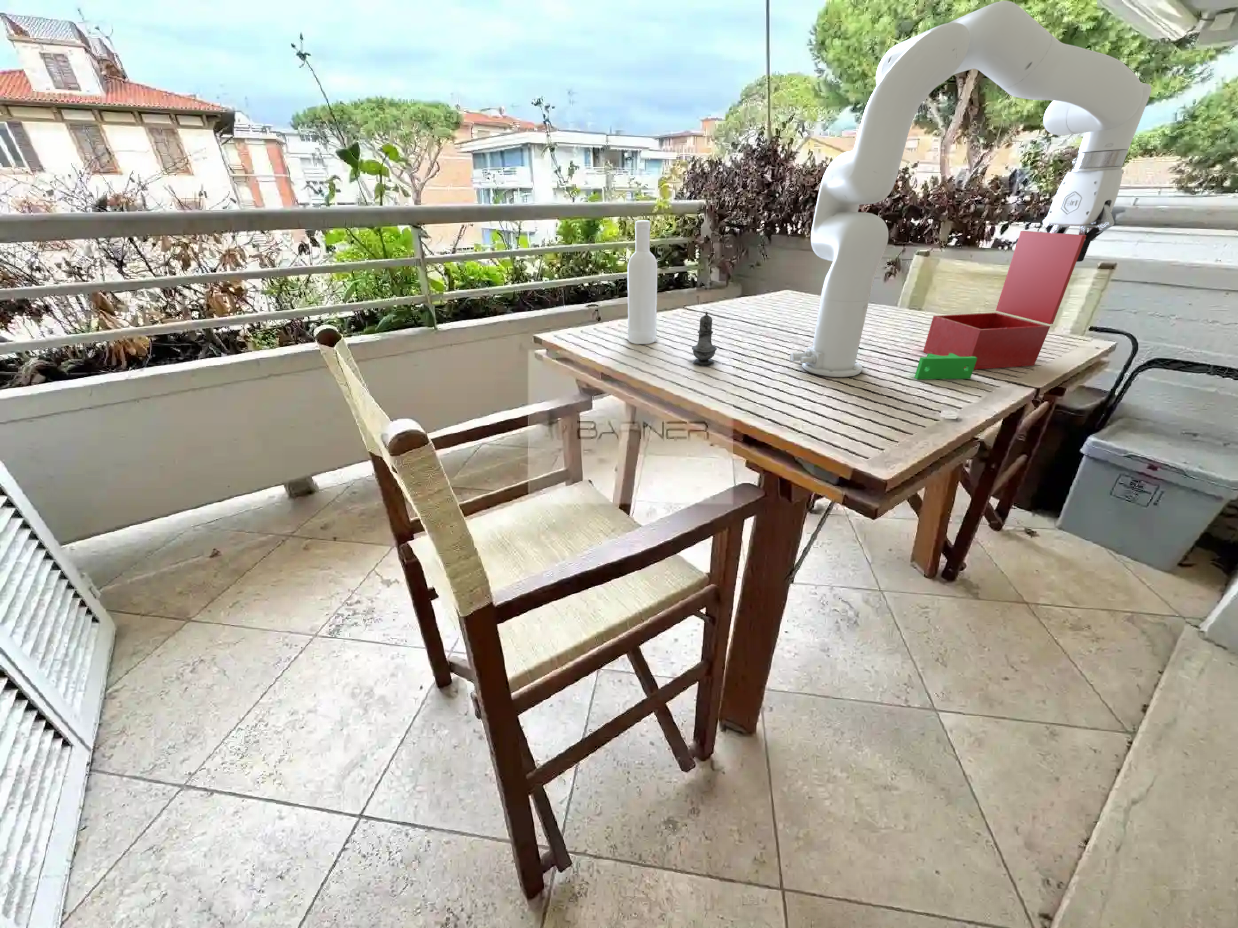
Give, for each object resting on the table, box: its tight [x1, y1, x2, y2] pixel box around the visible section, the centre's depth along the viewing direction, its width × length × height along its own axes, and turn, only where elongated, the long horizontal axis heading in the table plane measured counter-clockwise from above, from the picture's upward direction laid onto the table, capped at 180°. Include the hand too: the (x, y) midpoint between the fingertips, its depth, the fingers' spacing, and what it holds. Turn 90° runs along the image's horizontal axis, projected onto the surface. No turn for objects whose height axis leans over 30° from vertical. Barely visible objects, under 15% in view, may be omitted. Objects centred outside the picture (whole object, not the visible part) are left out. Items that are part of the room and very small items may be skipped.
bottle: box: [627, 219, 658, 345], centre depth 127 cm, size 8×8×30 cm
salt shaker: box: [691, 311, 718, 367], centre depth 113 cm, size 6×6×12 cm
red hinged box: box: [922, 312, 1051, 370], centre depth 112 cm, size 17×15×9 cm
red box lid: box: [995, 230, 1086, 325], centre depth 107 cm, size 18×15×5 cm
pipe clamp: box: [914, 353, 977, 380], centre depth 103 cm, size 11×4×5 cm, turn 89°
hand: (1062, 259), depth 105 cm, fingers closed on red box lid, 5 cm apart
